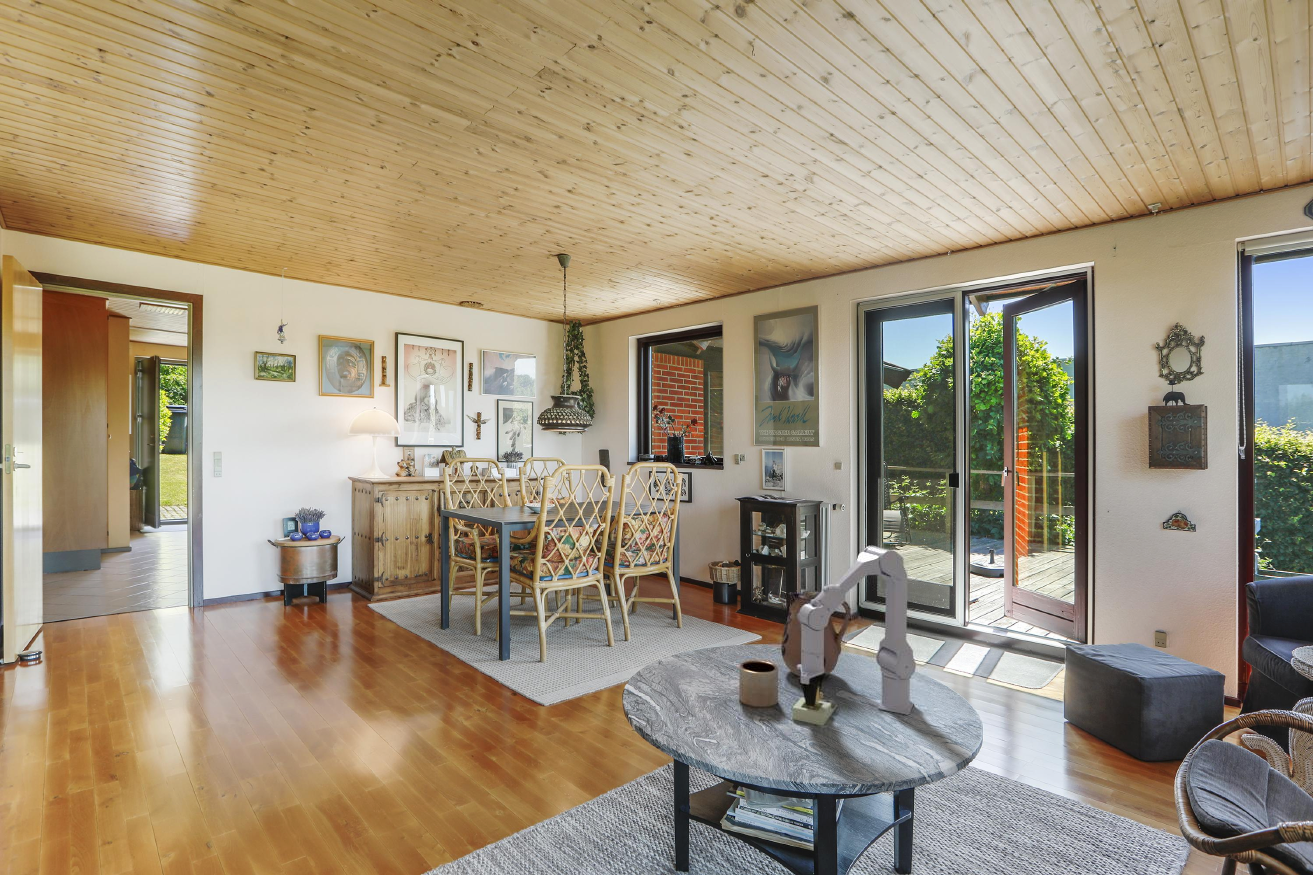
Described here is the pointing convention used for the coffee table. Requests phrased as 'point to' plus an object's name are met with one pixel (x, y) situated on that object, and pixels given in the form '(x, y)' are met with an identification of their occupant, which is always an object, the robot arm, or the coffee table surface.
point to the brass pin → (816, 706)
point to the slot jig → (814, 711)
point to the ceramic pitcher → (794, 634)
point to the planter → (758, 683)
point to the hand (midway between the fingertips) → (812, 702)
